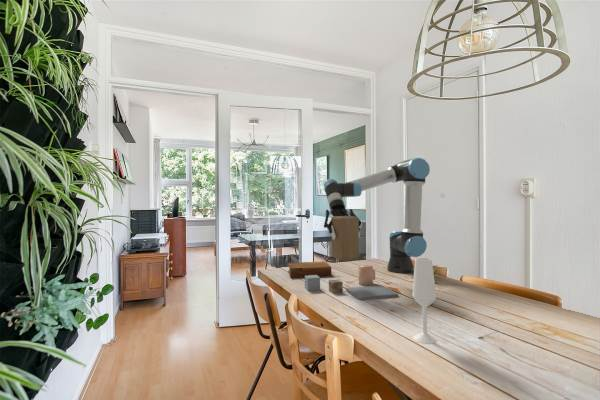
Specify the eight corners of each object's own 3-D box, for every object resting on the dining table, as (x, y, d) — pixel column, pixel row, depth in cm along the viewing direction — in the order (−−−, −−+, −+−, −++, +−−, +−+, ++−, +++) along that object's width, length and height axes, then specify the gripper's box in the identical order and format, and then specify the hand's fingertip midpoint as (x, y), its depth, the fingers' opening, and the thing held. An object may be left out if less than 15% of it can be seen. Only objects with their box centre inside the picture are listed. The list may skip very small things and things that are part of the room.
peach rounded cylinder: (362, 286, 168) (361, 267, 168) (356, 283, 174) (356, 265, 174) (377, 285, 169) (377, 266, 169) (371, 281, 176) (371, 264, 176)
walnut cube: (339, 290, 162) (338, 279, 162) (342, 292, 157) (342, 281, 157) (328, 290, 161) (328, 280, 161) (332, 293, 156) (332, 282, 156)
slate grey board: (381, 287, 164) (381, 285, 164) (398, 296, 148) (398, 293, 148) (345, 290, 160) (345, 288, 160) (359, 300, 144) (359, 297, 144)
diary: (290, 279, 189) (290, 268, 189) (288, 272, 207) (287, 262, 207) (331, 277, 191) (331, 266, 191) (325, 270, 210) (325, 261, 210)
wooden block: (330, 257, 167) (330, 216, 166) (348, 255, 171) (348, 215, 170) (341, 261, 157) (340, 217, 157) (359, 259, 161) (359, 216, 161)
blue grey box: (316, 287, 168) (316, 274, 168) (320, 290, 162) (320, 277, 162) (304, 288, 167) (304, 275, 167) (307, 291, 161) (307, 278, 161)
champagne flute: (421, 332, 108) (419, 256, 108) (441, 339, 102) (439, 258, 103) (408, 338, 104) (407, 258, 104) (429, 345, 98) (427, 261, 98)
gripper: (356, 208, 181) (368, 241, 166) (312, 209, 176) (320, 243, 161) (360, 198, 176) (372, 231, 161) (314, 199, 171) (323, 233, 156)
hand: (346, 237), depth 161 cm, fingers closed on wooden block, 11 cm apart
